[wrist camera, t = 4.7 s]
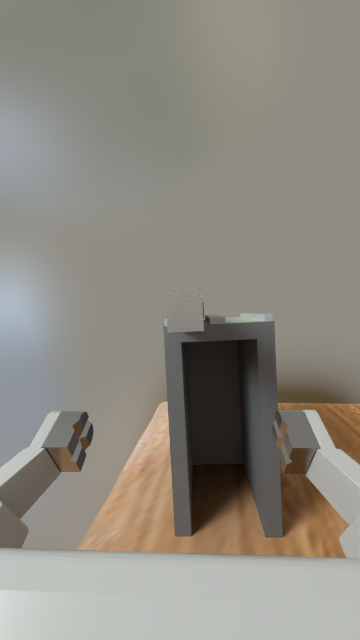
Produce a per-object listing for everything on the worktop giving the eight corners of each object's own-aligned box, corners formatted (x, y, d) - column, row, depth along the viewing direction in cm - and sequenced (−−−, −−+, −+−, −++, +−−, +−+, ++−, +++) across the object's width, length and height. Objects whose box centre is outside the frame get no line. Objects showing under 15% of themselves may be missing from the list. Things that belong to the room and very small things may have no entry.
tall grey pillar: (182, 457, 46) (174, 316, 45) (252, 457, 45) (245, 313, 44) (175, 536, 30) (163, 319, 29) (282, 536, 29) (273, 314, 28)
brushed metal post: (182, 320, 44) (181, 301, 44) (202, 319, 44) (201, 300, 44) (167, 332, 20) (165, 290, 20) (210, 330, 20) (207, 287, 20)
